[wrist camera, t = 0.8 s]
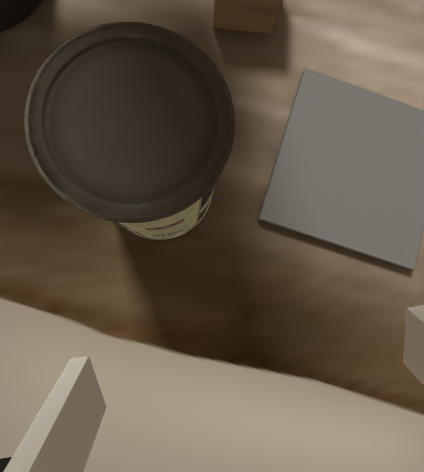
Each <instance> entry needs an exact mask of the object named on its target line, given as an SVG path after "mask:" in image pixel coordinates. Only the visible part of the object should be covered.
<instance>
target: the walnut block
mask: <svg viewBox="0 0 424 472" xmlns="http://www.w3.org/2000/svg"><path fill="white" fill-rule="evenodd" d="M282 2H283V0H214V15H213V28H219V29H229V30H239V31H248V32H258V33H268V34H271V32H272V29H273V26H274V24H275V21H276V18H277V16H278V13H279V10H280V7H281V5H282Z"/></svg>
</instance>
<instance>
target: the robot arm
mask: <svg viewBox="0 0 424 472" xmlns="http://www.w3.org/2000/svg"><path fill="white" fill-rule="evenodd" d="M39 2H40V0H0V31H1V30H3V29H6V28H8V27H10V26H12V25H14V24H16V23H17V22H19V21H20V20H22V19H23V18H24V17H26V16H27V15H28V14H29V13H30V12H31V11H32V10H33V9H34V8H35V7H36V6H37V4H38V3H39ZM403 363H404V364H405V365H406V366H407V368H408V369H409V370H410V371H411V372H412V373H413V374H414V375H415V376H416V378H417V379H418V380H419V381H420V382H421V383H422V384H423V385H424V305H423V306H416V307H410V308H406V324H405V341H404V358H403ZM105 409H106V404H105V402H104V399H103V396H102V393H101V390H100V387H99V384H98V381H97V378H96V375H95V373H94V370H93V367H92V364H91V361H90V358H89V356H85V357H78V358H72V359H70V360H69V362H68V364H67V365H66V367H65V369H64V371H63V372H62V374H61V376H60V377H59V379H58V381H57V382H56V384H55V386H54V387H53V389H52V391H51V392H50V394H49V396H48V398H47V399H46V401H45V403H44V404H43V406H42V408H41V410H40V411H39V413H38V414H37V416H36V418H35V419H34V421H33V423H32V425H31V426H30V428H29V430H28V431H27V433H26V435H25V436H24V438H23V440H22V441H21V443H20V445H19V447H18V448H17V450H16V451H15V453H14V455H13V457H9V458H2V459H0V472H83V471H84V468H85V465H86V463H87V459H88V457H89V454H90V451H91V448H92V446H93V443H94V440H95V437H96V434H97V431H98V429H99V426H100V423H101V420H102V417H103V414H104V412H105Z"/></svg>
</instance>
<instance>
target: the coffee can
mask: <svg viewBox="0 0 424 472" xmlns="http://www.w3.org/2000/svg"><path fill="white" fill-rule="evenodd" d="M234 125H235V124H234V110H233V104H232V99H231V96H230V92H229V90H228V87H227V85H226V83H225V81H224V79H223V77H222V75H221V73H220V72H219V70H218V69H217V67H216V66H215V65H214V63H213V62H212V61H211V60H210V59H209V58H208V57H207V55H206V54H205V53H204V52H203V51H202V50H200V49H199V48H198V47H197V46H196V45H195V44H193V43H192V42H191V41H189V40H188V39H186V38H184V37H183V36H181V35H179V34H177V33H175V32H173V31H171V30H168V29H165V28H163V27H159V26H155V25H151V24H146V23H141V22H118V23H109V24H103V25H100V26H96V27H93V28H90V29H88V30H85V31H83V32H81V33H79V34H77V35H76V36H73V37H72V38H70V39H69V40H67V41H66V42H64V43H63V44H61V45H60V46H59V47H58V48H57V49H56V50H55V51H54V52H53V53H52V54H51V55H50V56H49V57H48V58H47V59H46V60H45V62H44V63H43V64H42V66H41V67H40V69H39V70H38V72H37V74H36V75H35V77H34V79H33V82H32V84H31V86H30V89H29V92H28V95H27V100H26V104H25V113H24V127H25V136H26V142H27V146H28V149H29V153H30V155H31V157H32V160H33V162H34V164H35V166H36V168H37V170H38V172H39V173H40V174H41V176H42V178H43V179H44V180H45V182H46V183H47V184H48V185H49V187H50V188H51V189H52V190H53V191H54V192H55V193H56V194H57V195H58V196H60V197H61V198H62V199H63V200H64V201H66V202H67V203H69V204H71V205H72V206H74V207H75V208H77V209H79V210H81V211H83V212H85V213H87V214H89V215H92V216H94V217H97V218H100V219H104V220H108V221H111V222H113V223H115V224H117V225H119V226H121V227H123V228H126V229H127V230H129V231H130V232H132V233H134V234H136V235H138V236H141V237H144V238H148V239H154V240H164V239H170V238H175V237H178V236H180V235H182V234H185V233H186V232H188V231H190V230H191V229H193V228H194V227H195V226H196V225H197V224H198V223H199V222H200V221H201V220H202V219H203V217H204V216H205V214H206V212H207V210H208V208H209V206H210V203H211V199H212V195H213V192H214V189H215V186H216V183H217V181H218V178H219V176H220V174H221V173H222V171H223V169H224V167H225V165H226V163H227V161H228V158H229V155H230V152H231V149H232V144H233V138H234Z"/></svg>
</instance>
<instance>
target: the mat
mask: <svg viewBox="0 0 424 472" xmlns="http://www.w3.org/2000/svg"><path fill="white" fill-rule="evenodd" d="M258 220H261V221H264V222H267V223H270V224H273V225H276V226H279V227H282V228H285V229H288V230H291V231H294V232H297V233H300V234H303V235H306V236H309V237H312V238H315V239H318V240H321V241H324V242H327V243H330V244H333V245H336V246H339V247H342V248H345V249H348V250H351V251H354V252H357V253H360V254H363V255H366V256H369V257H372V258H375V259H378V260H381V261H384V262H387V263H390V264H393V265H396V266H399V267H402V268H405V269H414V266H415V262H416V258H417V254H418V250H419V246H420V242H421V238H422V234H423V230H424V111H423V110H421V109H418V108H415V107H412V106H410V105H407V104H404V103H401V102H399V101H396V100H393V99H390V98H388V97H385V96H382V95H379V94H377V93H374V92H371V91H368V90H365V89H363V88H360V87H357V86H354V85H352V84H349V83H346V82H343V81H341V80H338V79H335V78H332V77H330V76H327V75H324V74H321V73H319V72H316V71H313V70H310V69H308V68H305V69H304V71H303V73H302V76H301V79H300V82H299V86H298V89H297V92H296V95H295V99H294V102H293V105H292V108H291V112H290V115H289V118H288V121H287V125H286V128H285V131H284V134H283V138H282V141H281V144H280V147H279V151H278V154H277V157H276V160H275V164H274V167H273V170H272V174H271V177H270V180H269V183H268V187H267V190H266V193H265V196H264V200H263V203H262V206H261V209H260V213H259V216H258Z"/></svg>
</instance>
